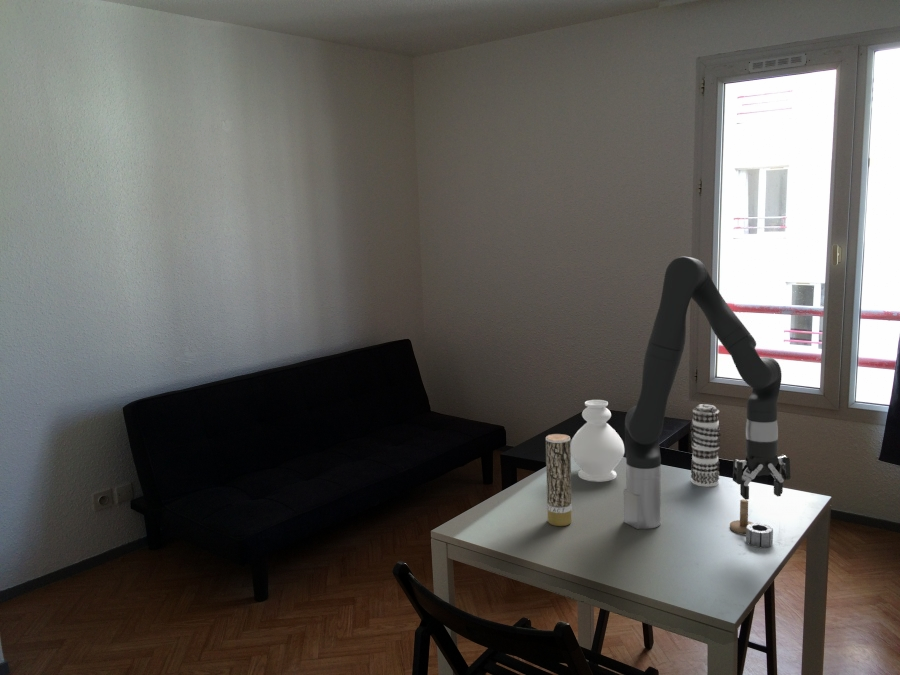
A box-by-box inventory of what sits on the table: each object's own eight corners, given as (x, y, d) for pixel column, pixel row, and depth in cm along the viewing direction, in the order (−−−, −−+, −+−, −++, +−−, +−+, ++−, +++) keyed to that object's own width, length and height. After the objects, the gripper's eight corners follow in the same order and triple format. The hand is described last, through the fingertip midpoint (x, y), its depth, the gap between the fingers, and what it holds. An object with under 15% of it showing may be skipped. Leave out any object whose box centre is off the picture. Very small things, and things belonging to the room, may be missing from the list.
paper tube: (555, 515, 212) (553, 432, 208) (576, 520, 208) (574, 436, 204) (543, 523, 207) (540, 438, 203) (564, 529, 202) (562, 442, 199)
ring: (767, 549, 185) (768, 534, 184) (743, 543, 189) (743, 529, 188) (774, 541, 189) (775, 526, 189) (751, 535, 193) (751, 521, 193)
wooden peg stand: (744, 536, 193) (744, 507, 192) (724, 527, 199) (724, 499, 198) (763, 530, 196) (764, 502, 194) (743, 521, 202) (743, 494, 201)
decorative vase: (581, 463, 256) (580, 394, 252) (631, 470, 247) (631, 398, 243) (562, 479, 241) (560, 406, 237) (614, 487, 232) (613, 411, 228)
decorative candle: (683, 479, 236) (684, 404, 232) (708, 475, 239) (708, 401, 235) (701, 488, 228) (702, 411, 224) (726, 484, 230) (727, 407, 226)
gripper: (780, 429, 189) (779, 489, 192) (727, 434, 188) (727, 494, 190) (796, 438, 182) (795, 499, 184) (742, 442, 181) (741, 505, 183)
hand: (761, 496), depth 187 cm, fingers open, 8 cm apart
